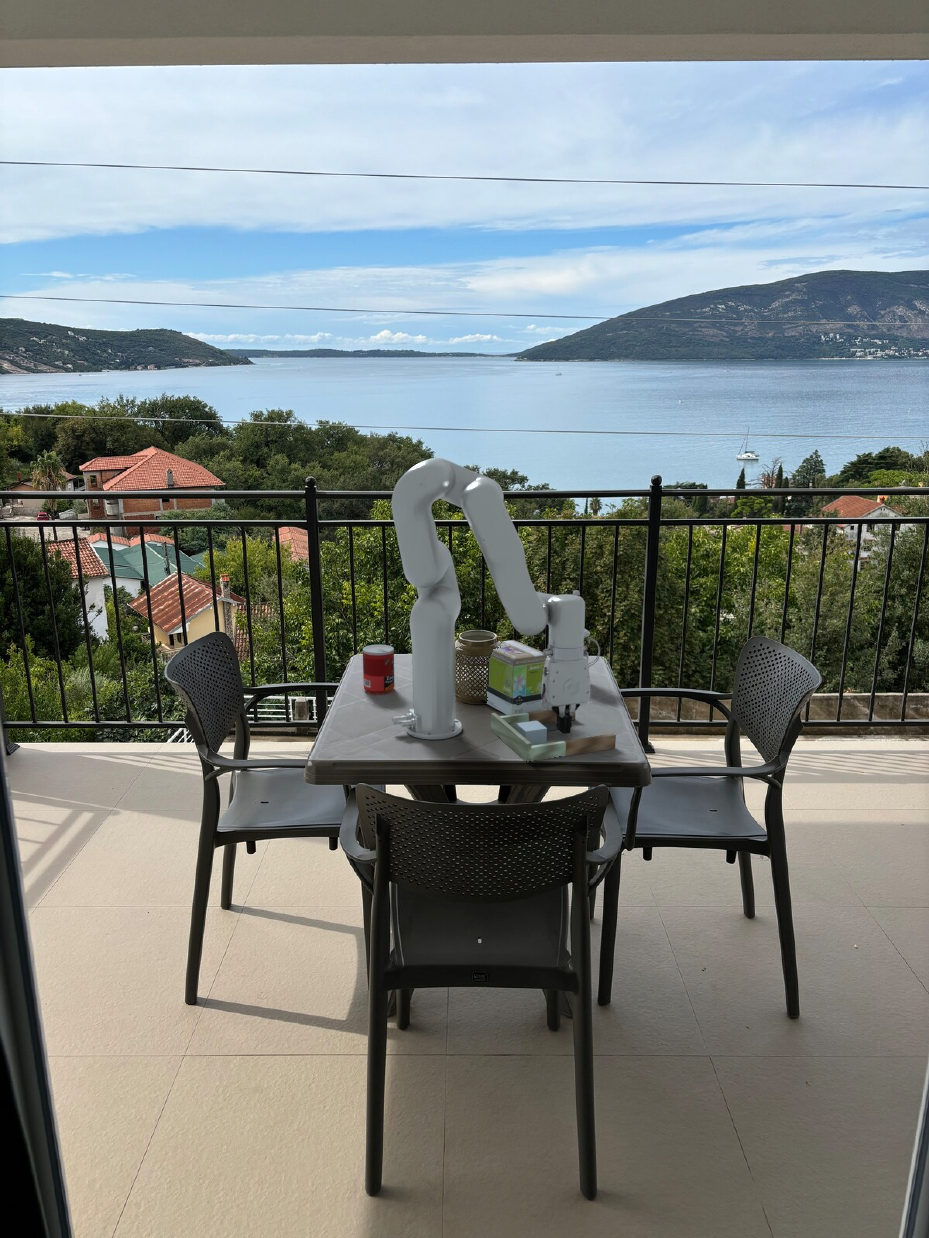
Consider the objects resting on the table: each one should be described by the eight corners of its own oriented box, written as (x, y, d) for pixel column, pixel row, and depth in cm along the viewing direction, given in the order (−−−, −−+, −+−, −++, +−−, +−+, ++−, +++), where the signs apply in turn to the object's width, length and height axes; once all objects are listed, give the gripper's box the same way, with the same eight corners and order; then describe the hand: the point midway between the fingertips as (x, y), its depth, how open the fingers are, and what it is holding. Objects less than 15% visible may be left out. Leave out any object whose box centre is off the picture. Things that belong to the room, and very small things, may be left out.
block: (525, 748, 187) (526, 731, 186) (515, 740, 192) (516, 723, 191) (546, 745, 189) (547, 728, 188) (536, 737, 193) (536, 720, 192)
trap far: (539, 732, 195) (539, 731, 195) (530, 726, 199) (530, 725, 199) (563, 729, 197) (563, 728, 197) (554, 722, 202) (554, 721, 201)
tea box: (546, 712, 208) (548, 653, 204) (511, 719, 203) (512, 659, 200) (512, 694, 221) (514, 637, 217) (478, 700, 216) (479, 643, 212)
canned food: (390, 695, 219) (390, 653, 216) (359, 693, 220) (358, 651, 217) (397, 685, 226) (397, 645, 224) (367, 684, 228) (366, 643, 225)
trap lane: (526, 762, 180) (527, 744, 179) (490, 729, 197) (490, 713, 196) (615, 748, 187) (616, 730, 186) (573, 718, 204) (573, 702, 203)
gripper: (542, 660, 182) (540, 742, 187) (605, 653, 187) (602, 733, 192) (527, 651, 189) (526, 730, 193) (588, 644, 194) (585, 721, 199)
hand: (563, 731), depth 193 cm, fingers closed
